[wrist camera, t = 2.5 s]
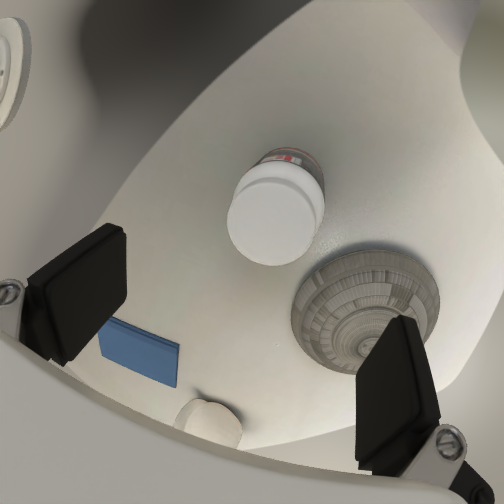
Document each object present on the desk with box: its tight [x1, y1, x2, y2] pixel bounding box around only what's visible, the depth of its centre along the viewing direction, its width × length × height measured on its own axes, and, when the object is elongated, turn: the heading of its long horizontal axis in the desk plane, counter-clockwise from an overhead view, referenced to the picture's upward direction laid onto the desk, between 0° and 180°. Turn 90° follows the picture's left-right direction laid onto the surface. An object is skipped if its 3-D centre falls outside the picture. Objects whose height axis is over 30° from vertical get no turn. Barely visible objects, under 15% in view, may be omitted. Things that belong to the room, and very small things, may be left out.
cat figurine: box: [173, 399, 242, 449], centre depth 35 cm, size 9×12×15 cm
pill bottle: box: [227, 148, 325, 266], centre depth 20 cm, size 6×6×10 cm
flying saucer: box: [291, 250, 440, 375], centre depth 26 cm, size 15×15×6 cm
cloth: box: [98, 317, 179, 388], centre depth 38 cm, size 13×10×1 cm
